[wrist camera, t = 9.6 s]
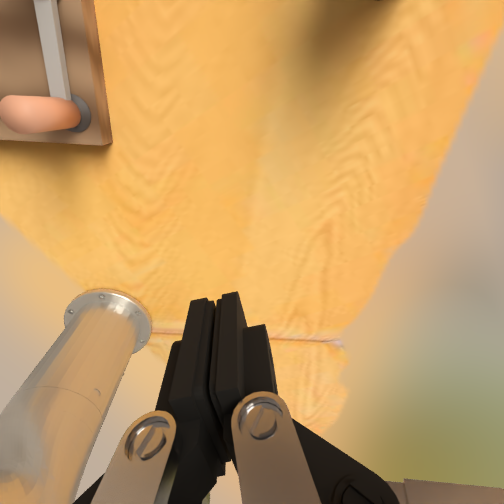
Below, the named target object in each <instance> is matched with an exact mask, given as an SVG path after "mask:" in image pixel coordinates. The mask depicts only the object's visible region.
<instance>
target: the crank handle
mask: <svg viewBox="0 0 504 504" xmlns="http://www.w3.org/2000/svg"><path fill="white" fill-rule="evenodd" d="M57 1H58V0H34V5H35V11H36V17H37V22H38V28H39V34H40V39H41V45H42V51H43V56H44V62H45V67H46V73H47V79H48V84H49V90H50V96H51V97H41V96H19V95H9V96H6V97H4V98H3V99H2V100H1V101H0V117H1V119H2V121H3V123H4V124H5V125H6V126H7V127H8V128H9V129H10V130H12V131H14V132H16V133H18V134H32V133H40V132H47V131H54V130H61V129H68V128H74V127H76V126H77V125H78V124H79V123H80V120H81V113H80V110H79V108H78V106H77V105H76V104H75V103H74V102H73V101H72V100H71V94H70V87H69V80H68V74H67V67H66V61H65V54H64V47H63V41H62V34H61V27H60V21H59V14H58V7H57Z"/></svg>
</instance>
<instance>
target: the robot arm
mask: <svg viewBox="0 0 504 504" xmlns="http://www.w3.org/2000/svg"><path fill="white" fill-rule="evenodd" d="M64 324H65V329H64V331H63V332H62V333H61V335H60V336H59V337H58V339H57V340H56V341H55V343H54V344H53V345H52V346H51V348H50V349H49V350H48V352H47V353H46V354H45V356H44V357H43V358H42V360H41V361H40V362H39V364H38V365H37V366H36V368H35V369H34V370H33V371H32V373H31V374H30V375H29V377H28V378H27V379H26V381H25V382H24V383H23V385H22V386H21V387H20V389H19V390H18V391H17V392H16V394H15V395H14V396H13V398H12V399H11V400H10V402H9V403H8V405H7V406H6V407H5V409H4V410H3V411H2V413H1V415H0V504H210V490H211V489H212V488H213V487H214V485H215V484H216V482H217V477H218V476H223V475H225V465H226V462H230V461H231V459H232V461H233V464H234V466H235V469H236V471H237V473H238V476H239V483H240V490H241V497H242V504H504V489H502V488H493V487H484V486H474V485H462V484H454V483H443V482H433V481H423V480H413V479H404V482H403V483H401V482H391V481H384V480H383V479H382V478H381V477H379V476H378V475H377V474H375V473H374V472H372V471H371V470H369V469H368V468H366V467H365V466H363V465H362V464H360V463H359V462H357V461H356V460H354V459H353V458H351V457H350V456H348V455H347V454H345V453H344V452H342V451H341V450H339V449H338V448H336V447H335V446H333V445H331V444H330V443H329V442H327V441H326V440H324V439H323V438H321V437H320V436H318V435H317V434H315V433H313V432H312V431H310V430H309V429H307V428H306V427H304V426H303V425H301V424H300V423H298V422H297V421H295V420H294V419H292V418H291V415H290V412H289V409H288V407H287V405H286V403H285V402H284V400H283V399H282V398H280V397H279V396H278V391H277V384H276V377H275V371H274V364H273V358H272V353H271V348H270V343H269V338H268V334H267V330H266V326H265V324H262V325H257V326H252V327H247V323H246V319H245V316H244V312H243V308H242V305H241V301H240V297H239V294H238V292H232V293H227V294H222V299H218V300H217V304H216V306H215V303H214V301H208V299H207V298H202V299H197V300H192V301H191V302H190V306H189V311H188V315H187V319H186V324H185V328H184V333H183V337H182V340H180V341H175V342H174V343H173V345H172V347H171V351H170V355H169V359H168V363H167V366H166V370H165V374H164V378H163V382H162V385H161V390H160V393H159V397H158V401H157V405H156V408H155V411H153V412H149V413H147V414H145V415H143V416H141V417H140V418H138V419H137V420H136V421H134V422H133V423H132V424H131V426H130V427H129V428H128V429H127V430H126V432H125V433H124V435H123V437H122V438H121V440H120V442H119V445H118V447H117V449H116V451H115V453H114V455H113V457H112V459H111V462H110V464H109V466H108V468H107V470H106V472H105V473H104V474H103V475H102V476H101V477H100V478H99V479H98V480H97V481H96V482H95V483H94V484H93V485H92V486H91V487H89V488H88V489H87V490H86V491H85V492H84V493H83V494H82V495H81V496H80V497H79V498H78V499H77V500H76V501H75V497H76V494H77V490H78V487H79V484H80V481H81V478H82V475H83V473H84V470H85V467H86V464H87V461H88V459H89V456H90V454H91V451H92V448H93V446H94V443H95V441H96V438H97V436H98V433H99V432H100V429H101V427H102V424H103V422H104V420H105V417H106V415H107V412H108V410H109V407H110V405H111V402H112V400H113V398H114V395H115V393H116V391H117V388H118V386H119V383H120V381H121V379H122V376H123V375H124V371H125V369H126V366H127V364H128V362H129V359H130V357H131V354H134V353H136V352H138V351H139V350H141V349H142V348H143V347H144V346H145V345H146V343H147V342H148V340H149V338H150V335H151V331H152V322H151V318H150V315H149V313H148V312H147V310H146V309H145V308H144V306H143V305H142V304H141V303H140V302H138V301H137V300H136V299H135V298H133V297H131V296H129V295H127V294H125V293H122V292H120V291H116V290H111V289H94V290H90V291H86V292H84V293H82V294H80V295H78V296H77V297H76V298H75V299H73V301H72V302H71V303H70V304H69V305H68V307H67V309H66V311H65V315H64ZM74 501H75V502H74Z"/></svg>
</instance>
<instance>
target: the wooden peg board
mask: <svg viewBox="0 0 504 504" xmlns="http://www.w3.org/2000/svg"><path fill="white" fill-rule="evenodd" d="M57 7H58V14H59V21H60V27H61V34H62V41H63V47H64V54H65V61H66V67H67V74H68V80H69V87H70V94H71V100H72V101H73V102H74V103H75V104H76V105H77V106H78V108H79V110H80V113H81V120H80V123H79V124H78V125H77V126H76V127H74V128H68V129H61V130H54V131H47V132H40V133H32V134H18V133H16V132H14V131H12V130H10V129H9V128H8V127H7V126H6V125H5V124H4V123H3V121H2V119H1V117H0V140H15V141H33V142H50V143H68V144H85V145H106V144H109V143H112V142H113V140H112V132H111V125H110V117H109V110H108V103H107V95H106V88H105V81H104V73H103V66H102V58H101V51H100V44H99V36H98V29H97V22H96V14H95V7H94V0H58V1H57ZM9 95H19V96H41V97H51V96H50V90H49V84H48V79H47V73H46V67H45V62H44V56H43V51H42V45H41V39H40V34H39V28H38V22H37V17H36V11H35V5H34V0H0V101H1V100H2V99H3V98H4V97H6V96H9Z"/></svg>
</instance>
